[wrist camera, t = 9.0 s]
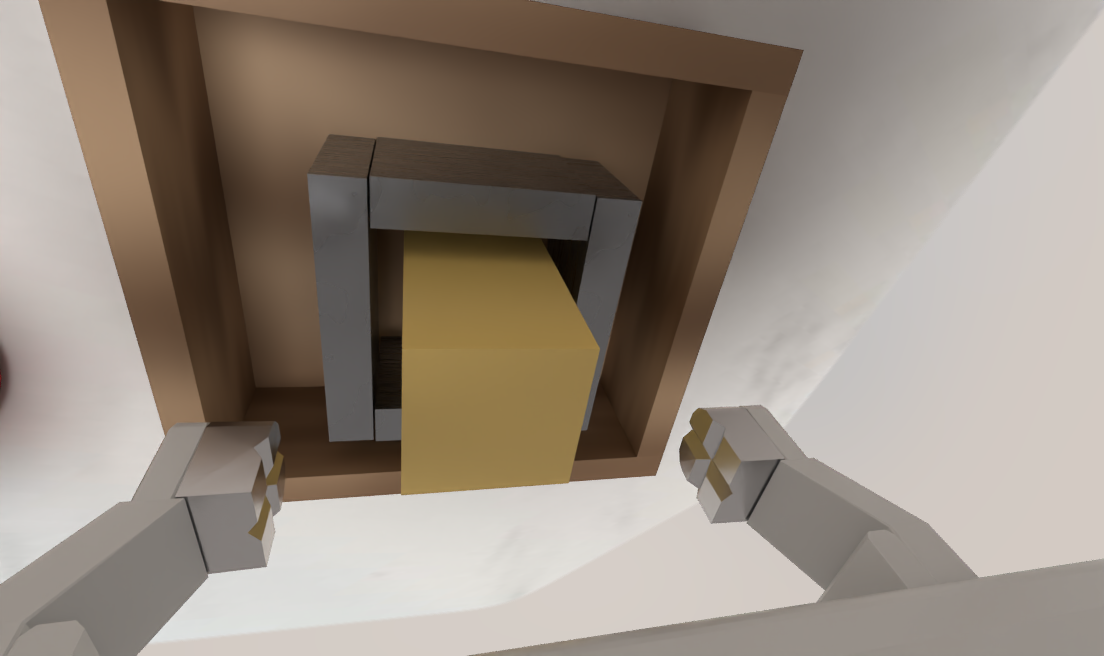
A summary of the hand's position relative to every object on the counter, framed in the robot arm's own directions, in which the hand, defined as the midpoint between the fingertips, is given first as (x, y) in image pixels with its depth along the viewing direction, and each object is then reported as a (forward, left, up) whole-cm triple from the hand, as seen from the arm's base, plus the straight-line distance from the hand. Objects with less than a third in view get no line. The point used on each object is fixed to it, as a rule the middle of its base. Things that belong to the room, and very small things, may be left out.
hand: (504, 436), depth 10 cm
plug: (+1, 0, -9) cm, 9 cm away
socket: (+1, 0, -9) cm, 9 cm away
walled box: (0, -1, -10) cm, 10 cm away
